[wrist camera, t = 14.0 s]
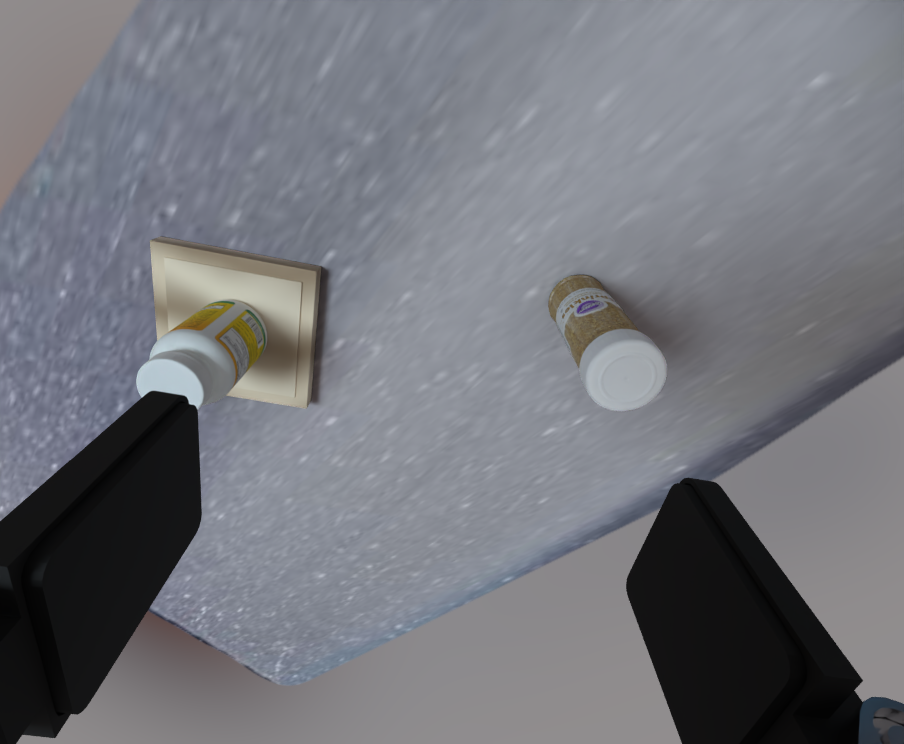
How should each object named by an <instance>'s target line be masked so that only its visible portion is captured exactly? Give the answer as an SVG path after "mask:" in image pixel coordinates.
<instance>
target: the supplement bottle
mask: <svg viewBox="0 0 904 744" xmlns="http://www.w3.org/2000/svg"><path fill="white" fill-rule="evenodd" d="M266 345H267V330H266V327H265V324H264V322H263V320H262V319H261V317H260V316H259V315H258V314H257V313H256V312H255V311H254V310H253V309H252V308H251V307H249V306H247V305H246V304H244V303H241V302H238V301H235V300H219V301H215V302H212V303H210V304H208V305H206V306H205V307H203V308H202V309H201V310H199V311H198V312H196V313H195V314H194V315H192V316H191V317H189V318H188V319H187V320H185V321H184V322H182V323H181V324H179V325H178V326H176V327H175V328H174V329H172V330H171V331H169V332H168V333H166V334H165V335H164V336H162V337H161V338H160V339H159V340H158V341H157V342H156V343H155V345H154V346H153V348H152V351H151V354H150V360H149V361H147V362H146V363H145V364H144V365H143V366H142V367H141V368H140V370H139V372H138V374H137V380H136V382H137V388H138V392H139V394H140V395H141V397H143V396H144V395H146V394H147V393H148V392H150V391H160V392H166V393H172V394H178V395H184V396H186V397H187V399H188V401H189V404H191V405H195V406H196V408H197V410H198V409H199V408H200V407H201V406H202V405H207V404H211V403H214V402H217V401H219V400H220V399H222V398H223V397H225V396H226V395H227V394H228V393H229V392H230V391H231V389H232V388H233V387H234V386H235V385H236V384H237V383H238V381H239V380H240V379H241V378H242V377H243V375H244V374H245V373H246V372H247V371H248V370H249V368H250V367H251V366H252V365H253V364H254V363H255V362H256V361H257V360H258V358H259V357H260V356H261V355H262V353H263V352H264V350H265V347H266Z"/></svg>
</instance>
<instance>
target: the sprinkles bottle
mask: <svg viewBox="0 0 904 744" xmlns="http://www.w3.org/2000/svg"><path fill="white" fill-rule="evenodd" d="M548 307H549V312H550V315H551V317H552V318H553V319H554V321H555V322H556V324H557V327H558V330H559V332H560V334H561V336H562V337H563V339H564V342H565V344H566V346H567V348H568V350H569V352H570V354H571V356H572V357H573V359H574V361H575V362H576V364H577V366H578V368H579V373H580V377H581V380H582V383H583V385H584V387H585V389H586V390H587V392H588V394H589V396H590V397H591V398H592V399H593V401H594V402H596V403H597V404H598V405H600V406H601V407H603V408H605V409H608V410H612V411H630V410H634V409H637V408H640V407H642V406H644V405H646V404H647V403H649V402H650V401H652V400H653V399H654V398H655V397H656V396H657V395H658V394H659V392H660V391H661V390H662V388H663V386H664V384H665V381H666V378H667V363H666V360H665V357H664V355H663V354H662V352H661V351H660V350H659V348H658V347H657V346H656V345H655V343H654V342H653V341H652V340H651V339H650V338H649V337H648V336H647V335H645V334H643V333H641V332H639V330H638V329H637V327H636V326H635V325H634V324H633V323H632V322H631V320H630V319H629V318H628V317H627V316H626V314H625V313H624V311H623V310H622V308H621V307H620V306H619V305H618V304H617V303H616V302H615V301H614V299H613V298H612V297H611V296H610V295H609V294H608V293H606V292H605V291H604V289H603V287H602V286H601V284H600V283H599V282H598V281H596V280H595V279H594V278H592V277H590V276H587V275H574V276H569V277H567V278H564V279H563V280H562V281H560V282H559V283H558V284H557V285H556V286H555V288H554V289H553V291H552V292H551V294H550V297H549V305H548Z"/></svg>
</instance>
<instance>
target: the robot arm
mask: <svg viewBox="0 0 904 744" xmlns="http://www.w3.org/2000/svg"><path fill="white" fill-rule="evenodd" d="M201 515H202V510H201V484H200V458H199V433H198V411H197V408H196V406H195V405H191V404H189V401H188V399H187V397H186V396H184V395H178V394H172V393H166V392H160V391H150V392H148V393H147V394H146V395H144V396H143V397H142V398H141V399H140V400H139V401H138V402H137V403H135V404H134V405H133V406H132V407H131V408H130V409H129V410H127V411H126V412H125V413H124V414H123V415H122V416H121V417H119V418H118V419H117V420H116V421H115V422H114V423H113V424H111V425H110V426H109V427H108V428H107V429H106V430H105V431H103V432H102V433H101V434H100V435H99V436H98V437H97V438H95V439H94V440H93V441H92V442H91V443H90V444H89V445H87V446H86V447H85V448H84V449H83V450H82V451H81V452H79V453H78V454H77V455H76V456H75V457H74V458H73V459H71V460H70V461H69V462H68V463H66V464H65V465H64V466H63V467H62V468H61V469H60V470H58V471H57V472H56V473H55V474H54V475H53V476H52V477H50V478H49V479H48V480H47V481H46V482H45V483H44V484H42V485H41V486H40V487H39V488H38V489H37V490H36V491H34V492H33V493H32V494H31V495H30V496H29V497H28V498H26V499H25V500H24V501H23V502H22V503H21V504H20V505H18V506H17V507H16V508H15V509H14V510H13V511H12V512H10V513H9V514H8V515H7V516H6V517H5V518H4V519H2V520H1V521H0V744H16V743H17V742H18V740H19V739H20V737H21V736H22V735H31V736H41V737H49V738H55V737H56V736H57V734H58V733H59V731H60V730H61V728H62V727H63V725H64V724H65V722H66V721H67V719H68V717H69V716H70V714H79V713H81V712H82V711H83V710H84V709H85V708H86V707H87V705H88V704H89V703H90V701H91V699H92V698H93V696H94V695H95V693H96V692H97V690H98V688H99V687H100V685H101V684H102V682H103V680H104V679H105V677H106V676H107V674H108V672H109V671H110V669H111V668H112V666H113V665H114V663H115V661H116V660H117V658H118V657H119V655H120V654H121V652H122V650H123V649H124V647H125V646H126V644H127V642H128V641H129V639H130V638H131V636H132V635H133V633H134V631H135V630H136V628H137V627H138V625H139V623H140V622H141V620H142V619H143V617H144V615H145V614H146V612H147V611H148V609H149V608H150V606H151V604H152V603H153V601H154V600H155V598H156V596H157V595H158V593H159V592H160V590H161V588H162V587H163V585H164V584H165V582H166V581H167V579H168V577H169V576H170V574H171V573H172V571H173V569H174V568H175V566H176V565H177V563H178V562H179V560H180V558H181V557H182V555H183V554H184V552H185V550H186V549H187V547H188V546H189V544H190V542H191V541H192V539H193V538H194V536H195V534H196V533H197V531H198V528H199V525H200V522H201ZM626 589H627V595H628V598H629V601H630V603H631V606H632V609H633V611H634V614H635V617H636V619H637V622H638V625H639V628H640V630H641V633H642V636H643V639H644V641H645V644H646V646H647V649H648V652H649V655H650V658H651V660H652V663H653V666H654V668H655V671H656V674H657V677H658V679H659V682H660V685H661V687H662V690H663V693H664V696H665V698H666V701H667V704H668V707H669V709H670V712H671V715H672V717H673V720H674V723H675V725H676V728H677V731H678V734H679V736H680V739H681V742H682V744H904V704H902V703H900V702H897V701H894V700H891V699H888V698H883V697H882V698H881V697H871V698H869V699H867V700H866V701H864V702H862V701H861V699H860V698H859V697H858V695H857V694H856V692H855V691H854V690H855V689H856V688H857V687H858V686H859V685H860V683H861V682H862V681H863V680H862V679H861V677H860V676H859V675H858V673H857V672H856V671H855V669H854V668H853V667H852V665H851V664H850V662H849V661H848V660H847V658H846V657H845V655H844V654H843V653H842V651H841V650H840V649H839V647H838V646H837V645H836V643H835V642H834V640H833V639H832V638H831V636H830V635H829V634H828V632H827V631H826V630H825V628H824V627H823V626H822V624H821V623H820V622H819V620H818V619H817V617H816V616H815V615H814V613H813V612H812V610H811V609H810V608H809V606H808V605H807V604H806V603H805V601H804V600H803V598H802V597H801V596H800V594H799V593H798V591H797V590H796V589H795V587H794V586H793V585H792V583H791V582H790V581H789V579H788V578H787V576H786V575H785V574H784V572H783V571H782V570H781V568H780V567H779V566H778V564H777V563H776V561H775V560H774V559H773V558H772V556H771V555H770V553H769V552H768V551H767V549H766V548H765V546H764V545H763V544H762V543H761V541H760V540H759V538H758V537H757V536H756V534H755V533H754V531H753V530H752V529H751V528H750V526H749V525H748V523H747V522H746V521H745V519H744V518H743V517H742V515H741V514H740V512H739V511H738V510H737V508H736V507H735V506H734V504H733V503H732V502H731V500H730V499H729V497H728V496H727V495H726V493H725V492H724V491H723V489H722V488H721V487H720V486H719V485H718V484H717V483H715V482H711V481H705V480H699V479H693V478H684V479H683V480H682V481H681V482H680V483H677V484H674V485H673V486H672V487H671V489H670V491H669V493H668V495H667V497H666V499H665V501H664V503H663V505H662V507H661V509H660V511H659V513H658V515H657V518H656V519H655V522H654V524H653V526H652V528H651V530H650V532H649V534H648V536H647V538H646V540H645V542H644V544H643V546H642V548H641V550H640V552H639V554H638V556H637V559H636V560H635V562H634V564H633V567H632V569H631V571H630V573H629V575H628V578H627V584H626Z"/></svg>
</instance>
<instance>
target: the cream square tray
mask: <svg viewBox="0 0 904 744" xmlns="http://www.w3.org/2000/svg"><path fill="white" fill-rule="evenodd" d="M150 248H151V262H152V275H153V288H154V302H155V315H156V328H157V341H158V340H159V339H160V338H161V337H162V336H164V335H165V334H166V333H168V332H169V331H171V330H172V329H174V328H175V327H176V326H178V325H179V324H181V323H182V322H184V321H185V320H187V319H188V318H189V317H191V316H192V315H194V314H195V313H196V312H198V311H199V310H201V309H202V308H203V307H205V306H206V305H208V304H210V303H212V302H215V301H219V300H235V301H238V302H241V303H244V304H246V305H247V306H249V307H251V308H252V309H253V310H254V311H255V312H256V313H257V314H258V315H259V316H260V317H261V319H262V320H263V322H264V324H265V327H266V330H267V345H266V347H265V350H264V352H263V353H262V355H261V356H260V357H259V358H258V360H257V361H256V362H255V363H254V364H253V365H252V366H251V367H250V368H249V370H248V371H247V372H246V373H245V374H244V375H243V377H242V378H241V379H240V380H239V381H238V383H237V384H236V385H235V386H234V387H233V388H232V389H231V391H230V392H229V393H228V394H227V395H226V396H232V397H238V398H245V399H251V400H257V401H263V402H269V403H275V404H281V405H287V406H293V407H299V408H305V409H307V407H308V405H309V403H310V401H311V394H312V381H313V368H314V355H315V342H316V329H317V316H318V303H319V290H320V278H321V266H316V265H311V264H305V263H300V262H295V261H289V260H284V259H279V258H273V257H268V256H263V255H257V254H252V253H247V252H241V251H236V250H231V249H225V248H220V247H215V246H209V245H204V244H199V243H193V242H188V241H183V240H177V239H172V238H167V237H158V238H155V239H153V240H150Z"/></svg>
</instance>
